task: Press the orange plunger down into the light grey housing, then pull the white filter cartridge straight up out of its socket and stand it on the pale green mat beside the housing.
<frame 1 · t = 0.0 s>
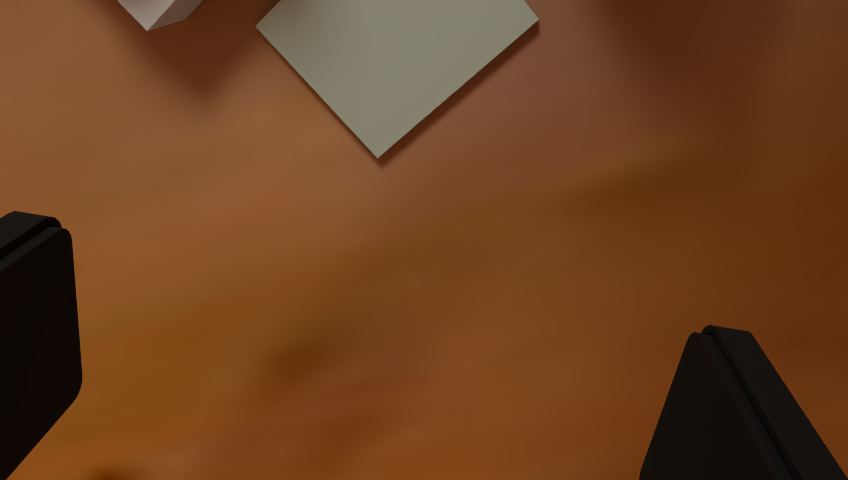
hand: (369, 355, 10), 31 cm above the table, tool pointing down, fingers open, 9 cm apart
mat: (396, 21, 39), on the table
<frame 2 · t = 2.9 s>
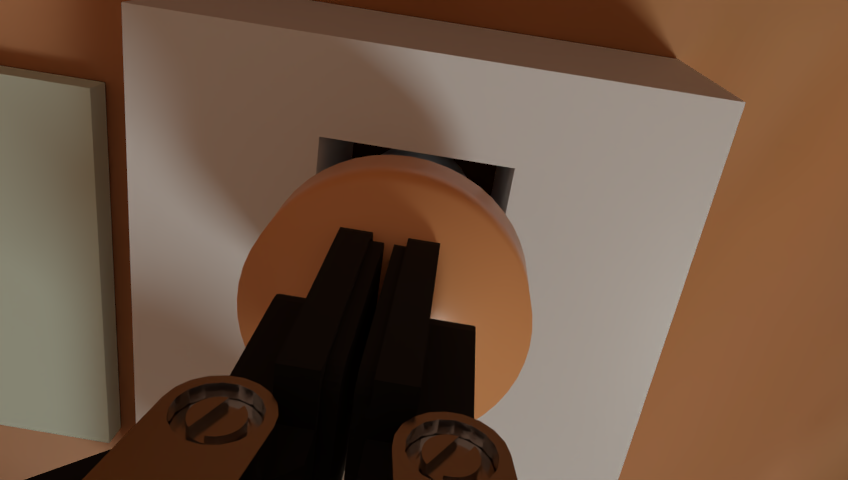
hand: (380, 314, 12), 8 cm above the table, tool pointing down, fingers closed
housing: (399, 322, 21), on the table
plunger: (401, 249, 14), point 5 cm above the table, slide at 0.1 cm, touching gripper
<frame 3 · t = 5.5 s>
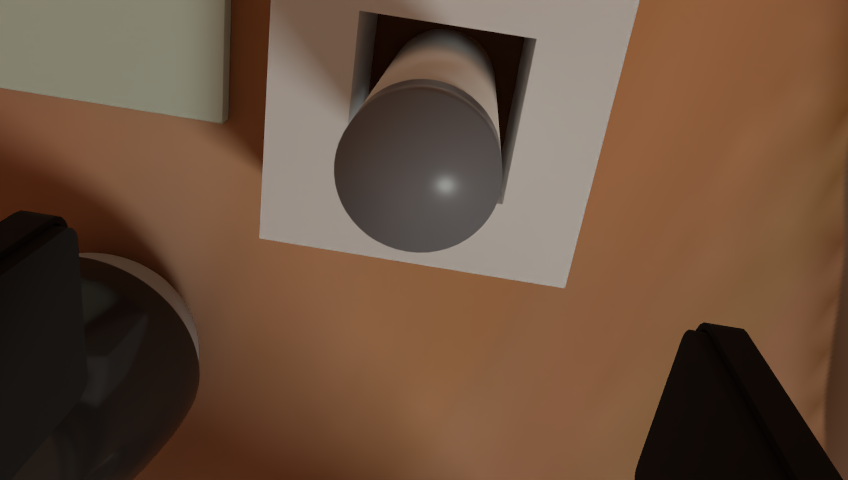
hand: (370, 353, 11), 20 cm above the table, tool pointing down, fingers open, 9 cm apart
housing: (453, 8, 28), on the table
cartridge: (442, 83, 29), resting in housing
pump dispenser: (127, 312, 35), on the table
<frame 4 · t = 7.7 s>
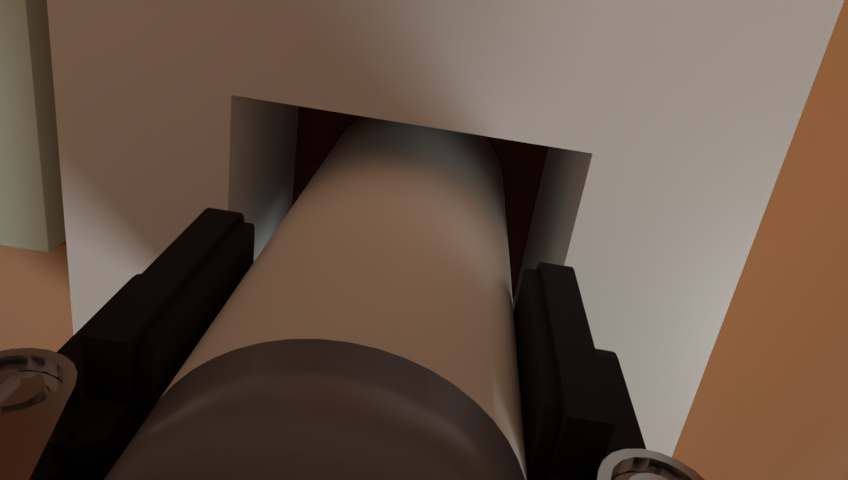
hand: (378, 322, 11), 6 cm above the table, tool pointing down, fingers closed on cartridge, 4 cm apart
housing: (431, 68, 16), on the table
cartridge: (413, 189, 17), resting in housing, touching gripper
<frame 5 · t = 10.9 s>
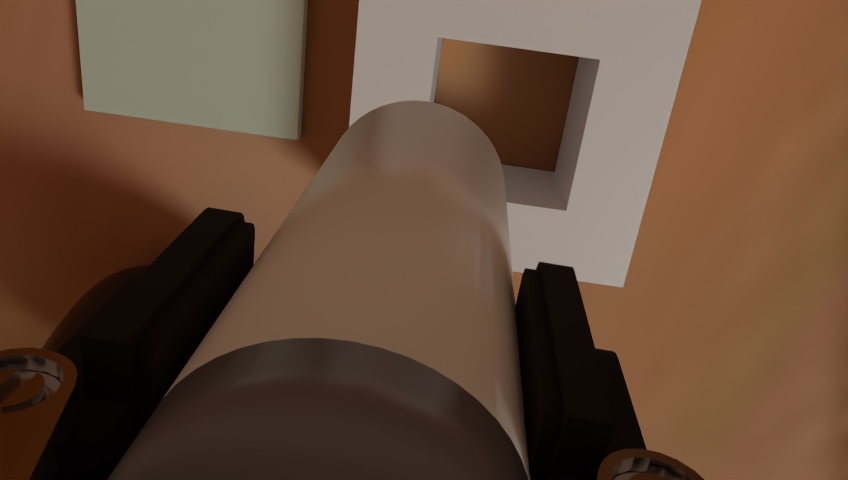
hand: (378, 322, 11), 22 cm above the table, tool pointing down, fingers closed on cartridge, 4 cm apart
housing: (513, 30, 30), on the table
cartridge: (415, 188, 17), point 15 cm above the table, touching gripper
pump dispenser: (200, 318, 37), on the table
when the fingers open (8 cm above the table, at t = 14.4 s): cartridge stays where it is, resting on mat.
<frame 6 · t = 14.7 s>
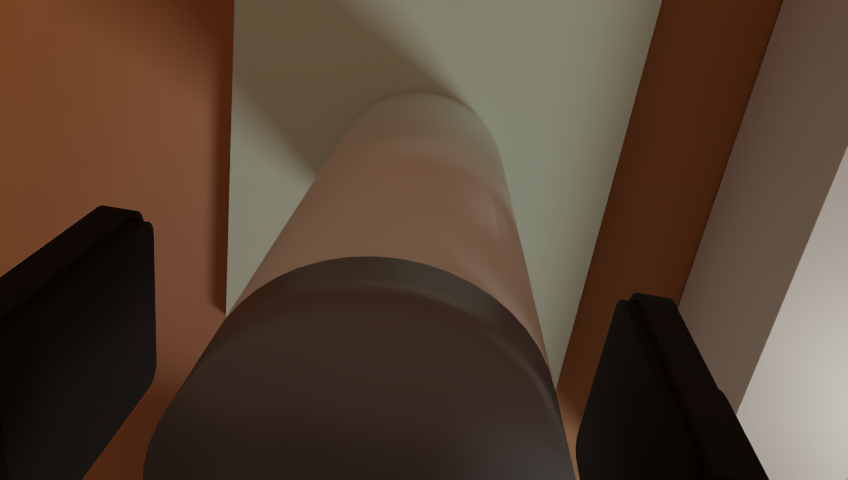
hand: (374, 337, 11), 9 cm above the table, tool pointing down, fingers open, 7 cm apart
mat: (420, 164, 19), on the table
cartridge: (418, 176, 18), point 1 cm above the table, touching mat
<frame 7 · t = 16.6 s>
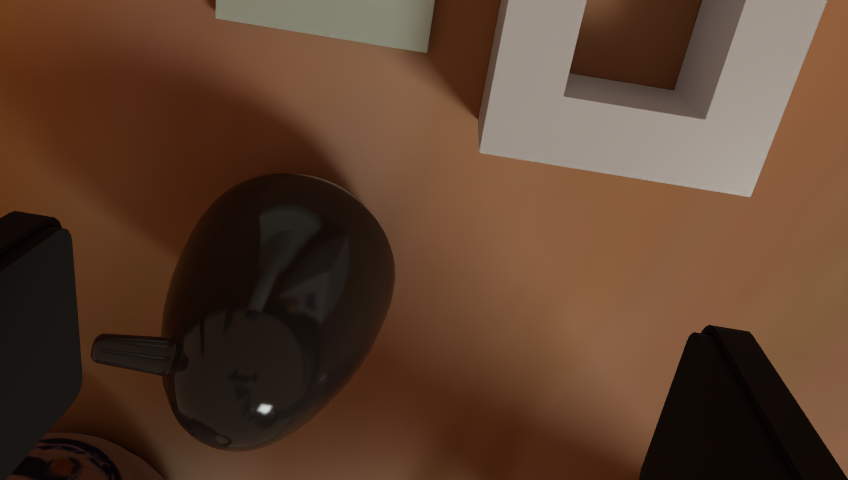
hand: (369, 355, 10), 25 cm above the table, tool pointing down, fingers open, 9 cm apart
pump dispenser: (308, 234, 38), on the table
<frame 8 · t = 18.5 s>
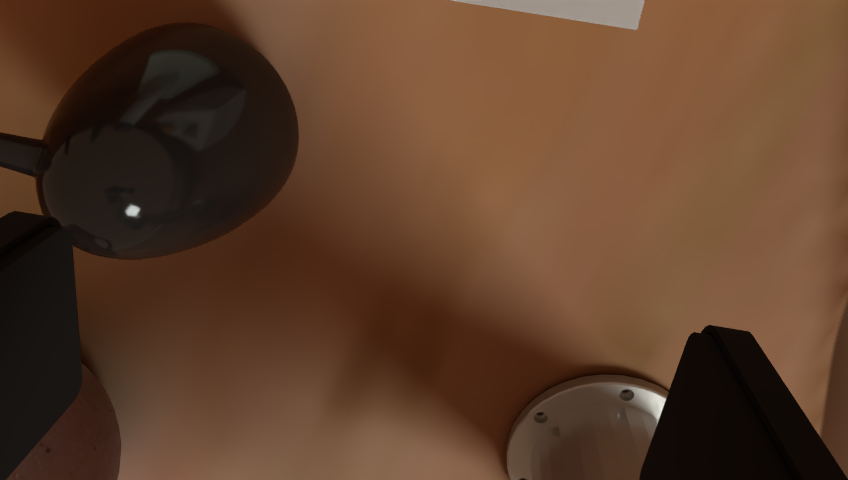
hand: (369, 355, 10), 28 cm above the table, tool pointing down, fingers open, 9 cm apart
ceramic pitcher: (60, 393, 48), on the table
pump dispenser: (223, 107, 39), on the table
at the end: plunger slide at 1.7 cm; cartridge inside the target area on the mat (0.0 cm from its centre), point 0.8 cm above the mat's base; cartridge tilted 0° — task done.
